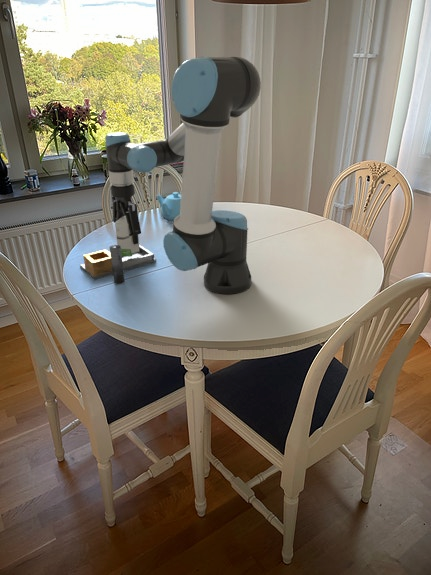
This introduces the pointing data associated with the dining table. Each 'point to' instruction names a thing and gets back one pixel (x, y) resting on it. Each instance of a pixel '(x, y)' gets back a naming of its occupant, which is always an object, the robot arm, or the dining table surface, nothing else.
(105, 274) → the two-compartment tray
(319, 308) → the dining table surface
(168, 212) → the teapot
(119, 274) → the round pin
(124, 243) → the ink box
